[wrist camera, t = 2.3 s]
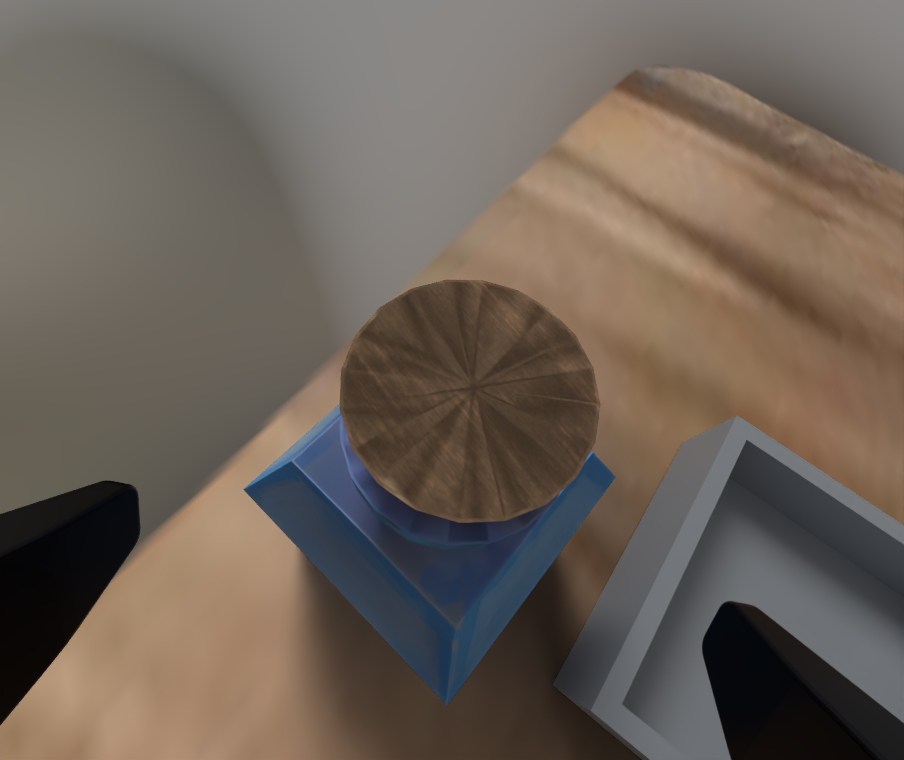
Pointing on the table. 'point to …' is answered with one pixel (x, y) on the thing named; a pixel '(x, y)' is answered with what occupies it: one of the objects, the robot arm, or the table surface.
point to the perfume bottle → (445, 470)
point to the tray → (737, 590)
